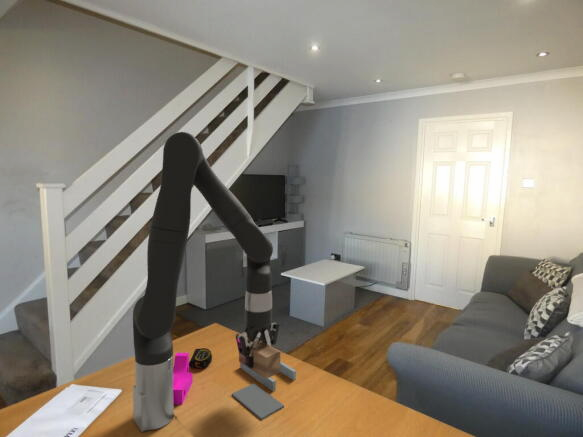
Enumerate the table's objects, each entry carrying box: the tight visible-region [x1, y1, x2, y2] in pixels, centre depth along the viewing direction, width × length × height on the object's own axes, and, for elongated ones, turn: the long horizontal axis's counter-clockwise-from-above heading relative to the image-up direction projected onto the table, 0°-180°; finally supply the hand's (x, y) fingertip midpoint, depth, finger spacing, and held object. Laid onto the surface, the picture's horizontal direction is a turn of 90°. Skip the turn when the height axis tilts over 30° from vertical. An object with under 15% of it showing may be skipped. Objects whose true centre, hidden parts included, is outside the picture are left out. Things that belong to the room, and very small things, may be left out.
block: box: [238, 338, 281, 379], centre depth 96 cm, size 5×12×6 cm, turn 45°
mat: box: [231, 383, 285, 421], centre depth 98 cm, size 8×14×1 cm, turn 43°
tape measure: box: [189, 347, 213, 369], centre depth 116 cm, size 7×7×4 cm
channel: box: [239, 360, 297, 392], centre depth 112 cm, size 10×17×3 cm, turn 43°
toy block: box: [173, 352, 194, 405], centre depth 103 cm, size 15×6×8 cm, turn 1°
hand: (257, 363), depth 97 cm, fingers closed on block, 5 cm apart
